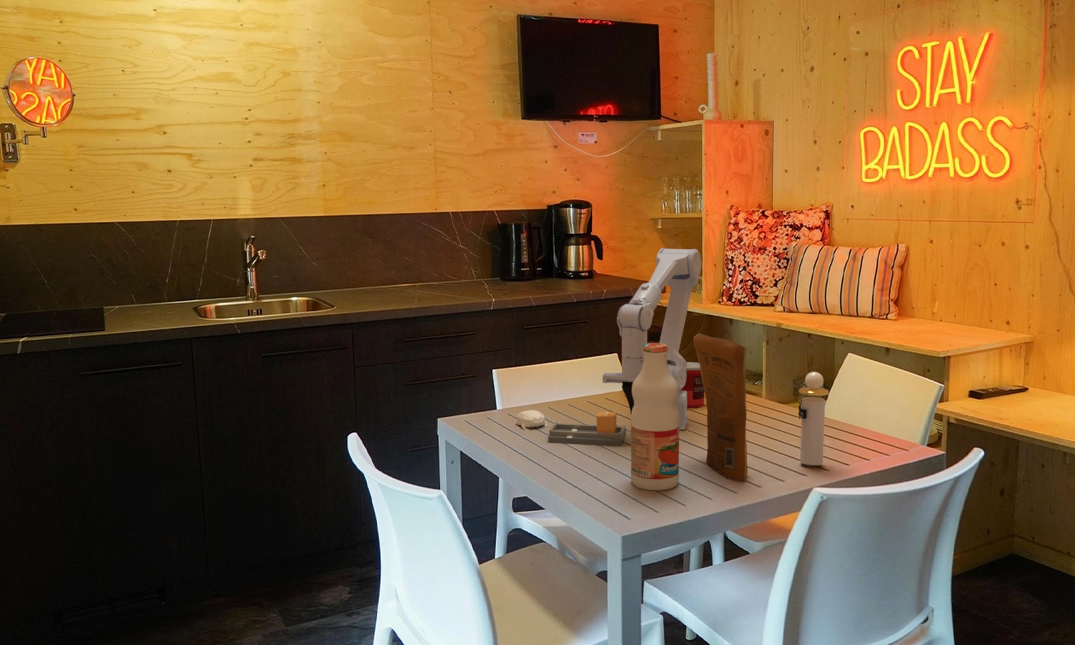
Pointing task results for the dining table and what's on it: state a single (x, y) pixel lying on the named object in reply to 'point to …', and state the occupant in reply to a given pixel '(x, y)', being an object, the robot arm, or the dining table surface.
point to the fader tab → (606, 422)
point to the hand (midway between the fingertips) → (634, 414)
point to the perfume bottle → (812, 420)
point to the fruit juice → (655, 423)
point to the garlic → (531, 419)
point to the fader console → (585, 434)
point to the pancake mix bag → (724, 404)
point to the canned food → (694, 386)
